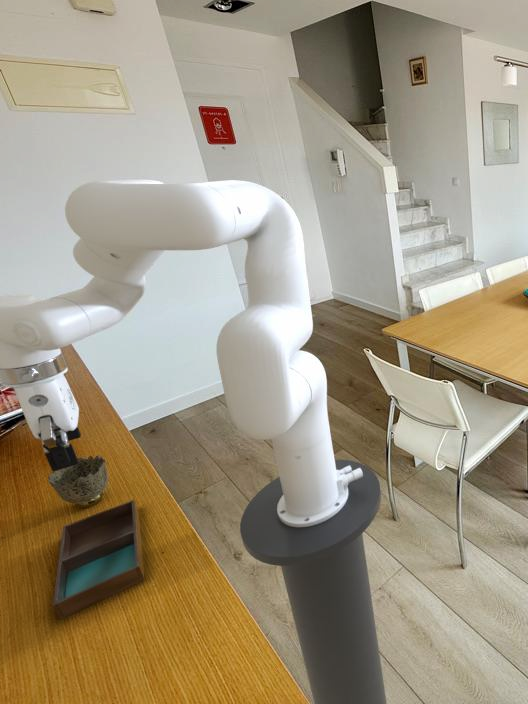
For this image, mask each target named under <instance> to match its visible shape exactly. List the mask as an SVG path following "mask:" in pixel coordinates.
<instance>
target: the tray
mask: <svg viewBox="0 0 528 704" xmlns="http://www.w3.org/2000/svg"><path fill="white" fill-rule="evenodd" d="M140 521H141V519H140V511H139V509H138V506H137V503H136V501H135V499H131V500H129V501H127V502H124V503H121V504H119V505H116V506H113V507H110V508H108V509H105V510H102V511H100V512H97V513H95V514H92V515H90V516H87V517H84V518H81V519H78V520H76V521H73V522H71V523H68V524H66V525H63V526H62V529H61V537H60V546H59V553H58V554H59V555H58V562H57V571H56V579H55V586H54V593H53V603H52V607H53V608H54V610H55V612H56V614H57V616H58V618H59V620H60V621H62V620H64V619H66V618H68V617H70V616H72V615H74V614H77V613H79V612H80V611H82V610H84V609H87V608H89V607H91V606H93V605H95V604H97V603H100V602H101V601H104V600H106V599H108V598H110V597H112V596H114V595H116V594H118V593H120V592H123V591H125V590H127V589H128V588H131V587H133V586H135V585H137V584H140V583H142V582H143V581H145V568H144V555H143V544H142V532H141V522H140Z"/></svg>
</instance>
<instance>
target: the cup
mask: <svg viewBox="0 0 528 704" xmlns="http://www.w3.org/2000/svg"><path fill="white" fill-rule="evenodd" d="M77 458H78V464H77V465H74V466H71V467H67V468H64V469H61V470H58V471H52V473H51V474H49V475H48V476H47V478H48V480H47V482H48V483H49V484H50V485H51V487H52V488H53V489H54V491H55V492H56V494H57V495H58V496H59V497H60V499H62V501H65V502H67V503H70V504H75V505H77V506H78V507H80V508H81V509H82V508H84V509H85V508H89V507H92V506H94V505H96V504H98V503H99V502H101V501H102V499H103V497H104V491H105V490H106V489H107V487H108V483H109V475H108V470H107V469H108V468H107V464H106V459H105V458H103V457H102V456H100V455H96V456H95V457H93V456H92V455H90V456H88V457H87V458H85V457H77Z"/></svg>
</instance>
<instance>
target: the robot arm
mask: <svg viewBox="0 0 528 704" xmlns="http://www.w3.org/2000/svg"><path fill="white" fill-rule="evenodd" d="M64 212H65V214H64V215H65V218H66V221H67V223H68V225H69V228H70V229H71V230H72V232H73V233H74V234H75V235H76V236H77V237H78V238H79V239H78V240H77V242H76V243H75V244H74V246H73V248H72V255H73V258H74V260H75V262H76V264H77V265H79V267H80V268H81V269H82V270H84V271H85V272H86V273H88V274H89V275H91V276H93V277H92V278H91V279H90V280H89V282H87V284H86V285H84V286H83V287H81V288H80V289H76V290H72V291H70V292H66V293H62V294H59V295H55V296H52V297H49V298H47V299H46V298H45V299H43V300H41V299H39V297H37V296H34V295H31V294H8V295H6V294H5V295H0V384H1V386H2V387H5V388H13V390H14V392H15V395H16V398H17V401H18V403H19V406H20V409H21V411H22V413H23V416H24V418H25V420H26V423H27V426H28V427H29V429H30V431H31V433H32V436H34V438H35V439H37V440H41V443H42V449H43V452H44V455H45V456H44V457H45V458H46V460H47V462H48V465H49V467H50V470H51V471H52V472H53V471H61V470H62V469H65V468H67V467H71V466H74V465H77V464H78V458H79V457H78V456H77V453H76V451H75V449H74V445H73V444H72V443H70V441H73V440H77V439H80V438H81V437H82V433H81V431H80V428H79V425H78V423H79V414H80V408H79V405H78V402H77V401H76V400H77V399H76V398H75V396H74V393H73V392H72V390H71V388H70V387H71V386H70V385H69V382H68V380H67V379H66V376H65V375H64V374H66V373H67V372H68V371H69V369H68V366H67V364H66V360H65V358H64V355H63V353H62V348H64V347H68V346H70V345H72V344H75V343H77V342H79V341H82V340H84V339H85V338H88V337H90V336H92V335H96V334H97V333H100V332H102V331H104V330H107V329H110V328H112V327H113V326H116V325H117V324H119V323H120V322H121V321H122V320H124V319H125V317H127V316H128V315H129V313H130V312H131V311H132V310H133V309H134V308H135V307H136V305H138V304H139V302H140V301H141V299H142V298H143V296H144V294H145V291H146V280H147V279H146V276H145V275H146V274H147V273H148V271H149V270H150V269H151V267H152V266H153V265H154V263H155V262H156V261H157V260H159V258H160V257H161V255H162V254H164V252H166V251H201V250H202V251H203V250H211V249H214V248H219V247H223V246H224V245H229V244H231V243H235V242H238V241H242V240H245V241H246V244H247V251H246V256H245V261H244V277H245V278H244V279H245V282H246V289H247V299H248V302H247V306H246V308H245V309H244V310H242V311H241V312H239V313H237V314H235V315H234V316H233V317H231V318H230V319H229V320H228V321H227V322H226V323H225V324H224V325H223V326H222V327H221V330H220V331H219V334H218V336H217V341H216V350H215V351H216V359H217V364H218V369H219V370H218V371H219V375H220V379H221V383H222V389H223V394H224V399H225V403H226V407H227V411H228V415H229V417H230V419H231V421H232V423H233V425H234V426H235V427H236V428H237V429H238V430H239V432H240V433H242V434H243V435H245V436H246V437H249V438H251V439H254V440H257V441H267V440H268V441H269V440H271V444H272V449H273V453H274V459H275V463H276V467H277V471H278V477H280V481H281V486H282V490H283V494H284V495H283V496H282V497H281V499H280V500H279V503H278V505H277V512H278V516H279V519H280V520H281V521H282V522H283V523H284V524H286V525H288V526H291V527H308V526H313V525H316V524H319V523H321V522H324V521H326V520H327V519H329V518H331V517H332V516H334V515H335V514H336V513H338V512H339V511H340V510H341V509H342V507H343V506H344V505H345V503H346V501H347V499H348V487H347V486H348V483H349V482H351V481H353V480H357V479H359V478H361V477H363V472H362V470H361V468H358V469H356V470H353V471H352V469H351V466H350V465H349V466H347V467H345V468H343V469H341V470H336V465H335V459H336V458H335V454H334V447H333V441H332V435H331V428H330V421H329V420H330V419H329V413H328V379H327V374H326V373H327V372H326V369H325V367H324V365H323V364H322V361H320V359H319V358H318V357H317V356H315V355H314V354H312V353H311V352H308V351H306V350H302V349H301V348H303V347H304V346H305V344H306V343H307V342H308V341H309V340H310V338H311V336H312V335H313V329H314V320H313V313H312V306H311V305H312V304H311V296H310V295H311V294H310V288H309V287H310V286H309V280H308V279H309V278H308V273H307V265H306V252H305V241H304V234H303V229H302V227H301V223H300V221H299V219H298V217H297V214H296V213H295V211H294V209H293V208H292V207H291V206H290V204H289V203H288V202H287V201H286V200H285V199H284V198H283V197H282V196H281V195H279V194H278V193H277V192H275V191H274V190H272V189H270V188H268V187H266V186H264V185H262V184H259V183H256V182H252V181H248V180H247V181H246V180H238V179H237V180H236V179H228V180H227V179H226V180H225V179H223V180H213V181H199V182H198V181H197V182H184V183H180V182H179V183H177V182H176V183H165V182H162V181H158V180H154V179H146V178H145V179H144V178H133V179H130V178H129V179H110V180H109V179H107V180H94V181H90V182H89V181H88V182H86V183H83V184H81V185H80V186H78V187H77V188H75V189H74V190H73V191H72V192H71V193H70V195H68V198H67V200H66V203H65V208H64ZM300 349H301V350H300ZM345 474H346V475H345Z"/></svg>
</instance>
